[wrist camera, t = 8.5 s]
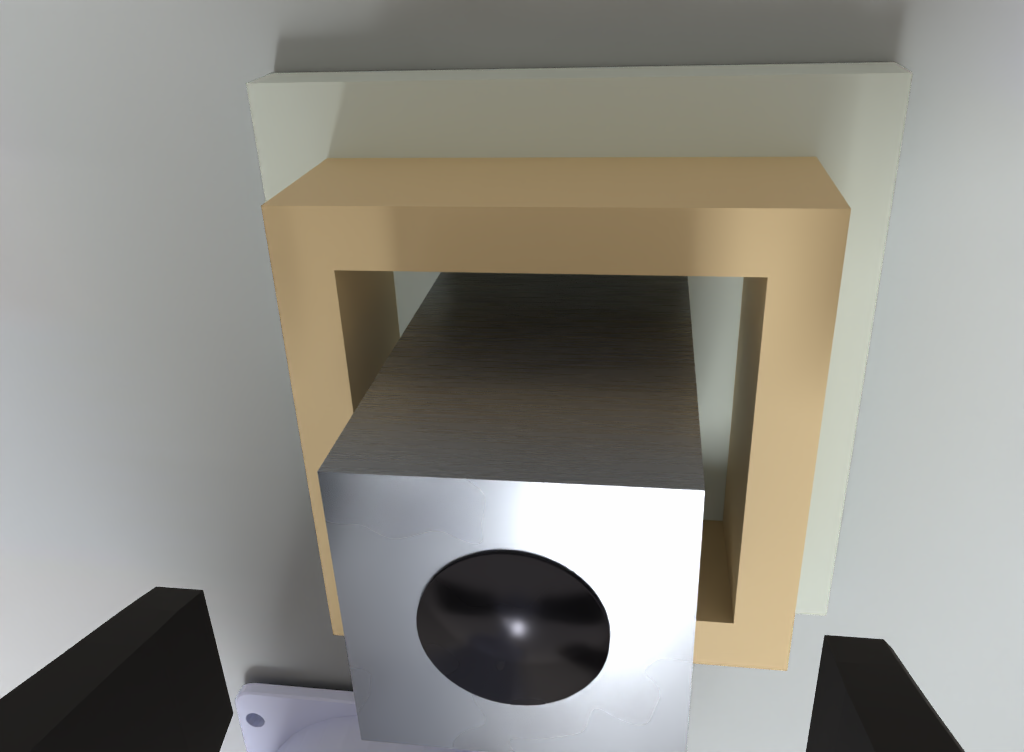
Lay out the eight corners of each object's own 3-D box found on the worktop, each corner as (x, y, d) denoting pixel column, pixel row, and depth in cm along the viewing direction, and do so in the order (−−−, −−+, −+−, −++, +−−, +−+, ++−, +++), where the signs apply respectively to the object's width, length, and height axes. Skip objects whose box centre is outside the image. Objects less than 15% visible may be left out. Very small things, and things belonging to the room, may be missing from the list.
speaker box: (676, 476, 18) (684, 775, 12) (460, 466, 18) (359, 744, 12) (686, 268, 16) (704, 493, 10) (445, 264, 16) (314, 474, 10)
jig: (817, 579, 20) (853, 729, 16) (344, 548, 21) (279, 679, 18) (894, 61, 15) (972, 108, 11) (272, 73, 17) (161, 116, 13)
